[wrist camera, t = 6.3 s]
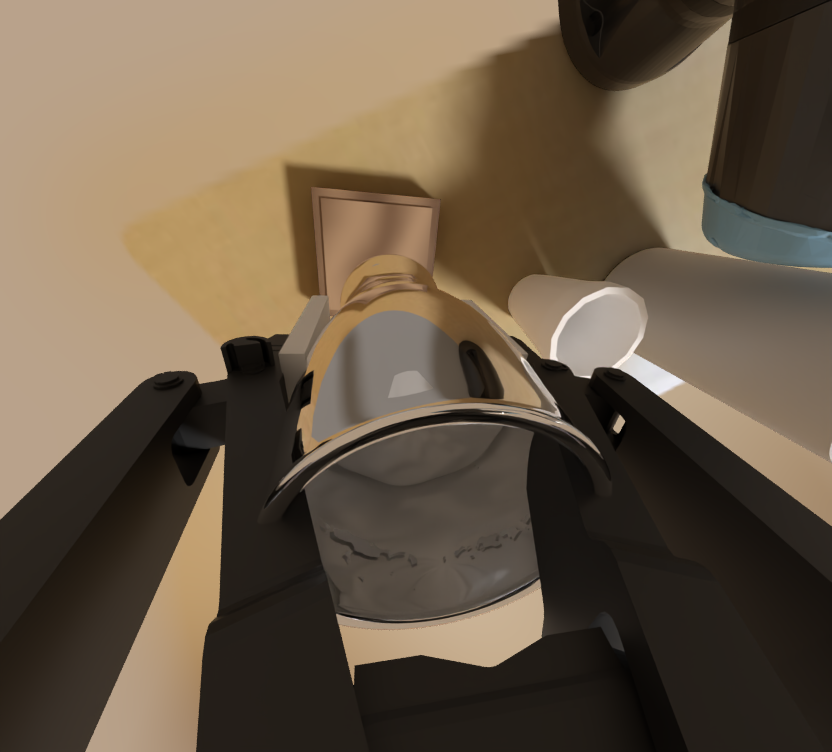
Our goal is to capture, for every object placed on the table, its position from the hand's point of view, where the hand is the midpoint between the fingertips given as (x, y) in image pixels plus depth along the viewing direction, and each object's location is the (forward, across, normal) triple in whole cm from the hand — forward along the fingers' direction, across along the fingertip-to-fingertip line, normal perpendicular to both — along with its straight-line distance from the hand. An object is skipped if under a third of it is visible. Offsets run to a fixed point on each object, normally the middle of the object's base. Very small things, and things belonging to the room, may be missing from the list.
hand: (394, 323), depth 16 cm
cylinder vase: (+21, +34, -3) cm, 41 cm away
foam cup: (+21, +20, -4) cm, 29 cm away
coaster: (+21, 0, 0) cm, 21 cm away
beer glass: (+3, 0, 0) cm, 3 cm away
